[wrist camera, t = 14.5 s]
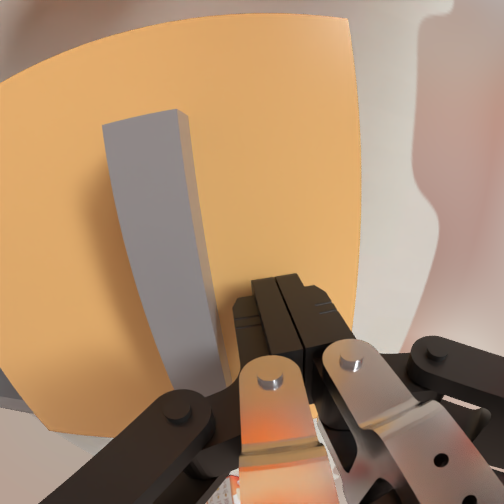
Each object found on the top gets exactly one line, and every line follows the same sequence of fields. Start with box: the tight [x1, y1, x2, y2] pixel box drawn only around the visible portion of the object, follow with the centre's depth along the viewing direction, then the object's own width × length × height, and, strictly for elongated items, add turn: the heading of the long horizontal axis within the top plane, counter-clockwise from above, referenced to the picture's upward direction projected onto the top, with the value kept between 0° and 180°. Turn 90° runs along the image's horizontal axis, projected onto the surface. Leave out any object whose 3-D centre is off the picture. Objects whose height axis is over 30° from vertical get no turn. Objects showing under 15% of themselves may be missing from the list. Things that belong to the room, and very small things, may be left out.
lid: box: [0, 13, 361, 438], centre depth 9 cm, size 18×18×4 cm
